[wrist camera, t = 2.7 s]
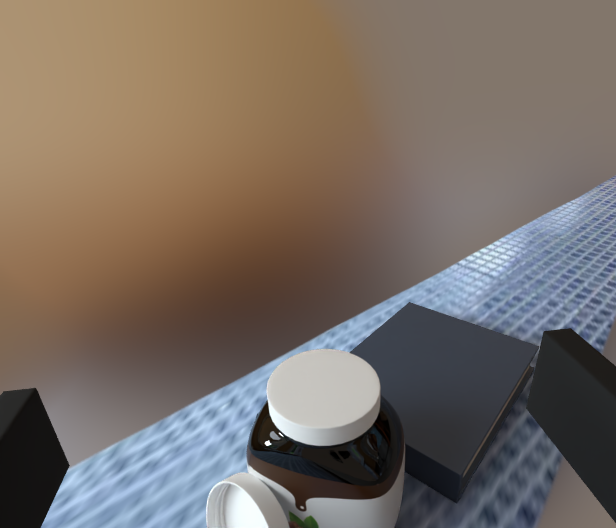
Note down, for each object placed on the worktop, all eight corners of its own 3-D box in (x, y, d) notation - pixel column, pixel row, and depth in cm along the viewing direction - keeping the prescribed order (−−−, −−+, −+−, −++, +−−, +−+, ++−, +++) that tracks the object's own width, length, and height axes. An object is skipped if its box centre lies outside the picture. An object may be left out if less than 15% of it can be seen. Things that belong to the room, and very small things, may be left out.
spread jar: (407, 480, 32) (415, 357, 27) (381, 662, 22) (387, 526, 17) (263, 444, 36) (246, 330, 31) (188, 588, 26) (147, 458, 21)
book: (456, 503, 30) (460, 475, 29) (309, 412, 39) (307, 387, 37) (533, 370, 42) (539, 346, 41) (408, 323, 51) (409, 302, 49)
